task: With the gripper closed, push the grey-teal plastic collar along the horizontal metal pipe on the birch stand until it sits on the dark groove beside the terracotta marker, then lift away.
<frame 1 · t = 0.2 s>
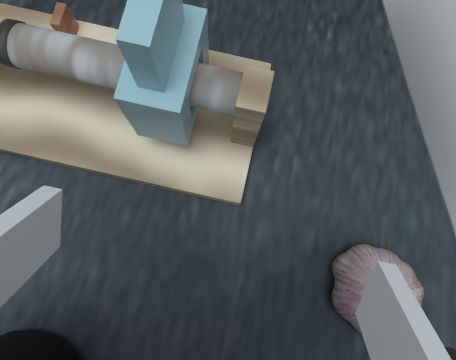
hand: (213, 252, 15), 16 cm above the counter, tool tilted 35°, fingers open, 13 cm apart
collar: (163, 60, 23), point 10 cm above the counter, slide at -6.0 cm
garlic bulb: (364, 288, 32), on the counter
pipe stand: (115, 104, 34), on the counter
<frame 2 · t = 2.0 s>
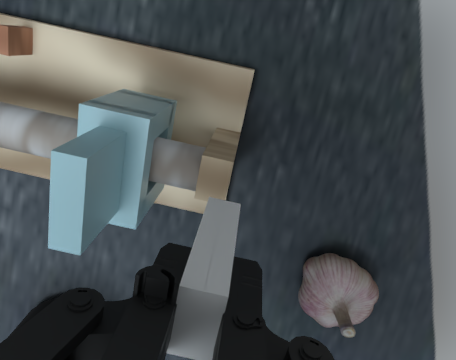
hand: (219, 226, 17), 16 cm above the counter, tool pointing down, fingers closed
collar: (115, 164, 22), point 11 cm above the counter, slide at -6.0 cm
garlic bulb: (333, 276, 36), on the counter
pipe stand: (93, 112, 32), on the counter
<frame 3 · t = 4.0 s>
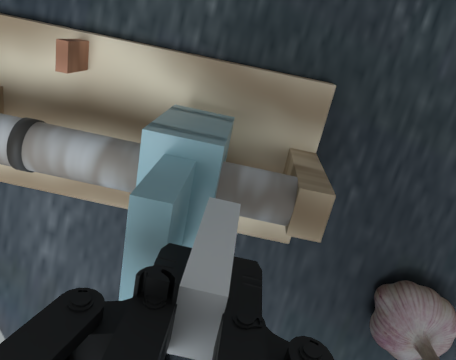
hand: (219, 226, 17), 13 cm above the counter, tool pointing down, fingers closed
collar: (177, 195, 20), point 11 cm above the counter, slide at -4.6 cm, touching gripper
garlic bulb: (404, 303, 34), on the counter
pipe stand: (149, 131, 30), on the counter
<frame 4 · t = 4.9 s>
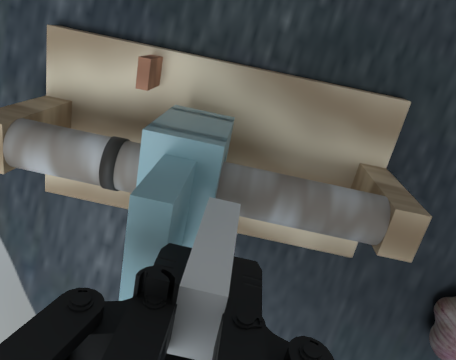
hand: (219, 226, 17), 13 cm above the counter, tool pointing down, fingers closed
collar: (177, 195, 20), point 11 cm above the counter, slide at 0.7 cm, touching gripper
pipe stand: (214, 145, 29), on the counter
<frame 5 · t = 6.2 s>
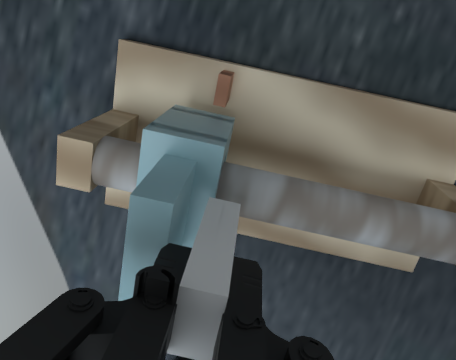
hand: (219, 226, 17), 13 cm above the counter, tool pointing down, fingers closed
collar: (177, 195, 20), point 10 cm above the counter, slide at 5.8 cm, touching gripper
pipe stand: (276, 159, 29), on the counter
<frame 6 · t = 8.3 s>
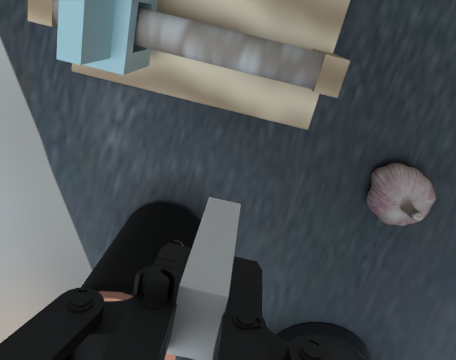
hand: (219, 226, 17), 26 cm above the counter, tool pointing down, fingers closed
collar: (107, 21, 29), point 11 cm above the counter, slide at 6.0 cm
garlic bulb: (393, 187, 43), on the counter
pipe stand: (204, 36, 38), on the counter
coffee jar: (166, 235, 48), on the counter
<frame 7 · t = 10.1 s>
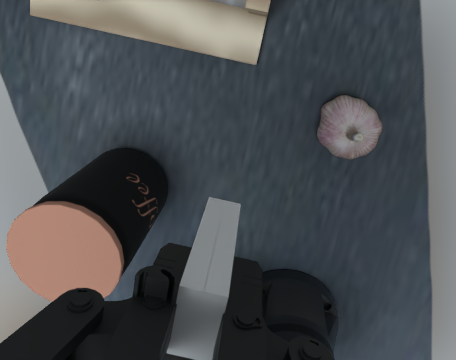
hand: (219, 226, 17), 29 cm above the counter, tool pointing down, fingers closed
garlic bulb: (345, 123, 44), on the counter
coffee jar: (131, 183, 50), on the counter
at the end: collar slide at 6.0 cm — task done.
